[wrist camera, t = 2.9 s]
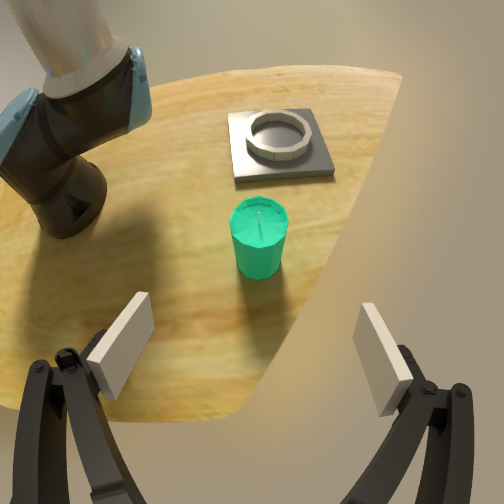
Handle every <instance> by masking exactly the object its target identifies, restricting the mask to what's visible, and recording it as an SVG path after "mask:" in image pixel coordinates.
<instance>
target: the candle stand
mask: <svg viewBox="0 0 504 504" xmlns="http://www.w3.org/2000/svg"><path fill="white" fill-rule="evenodd" d="M228 121H229V131H230V140H231V150H232V160H233V169H234V178H235V183H240V182H249V181H259V180H270V179H281V178H294V177H309V176H326V175H333V174H334V171H335V168H334V165H333V163H332V160H331V157H330V155H329V152H328V149H327V147H326V144H325V142H324V139H323V137H322V134H321V132H320V130H319V127H318V125H317V122H316V120H315V118H314V115H313V113H312V111H311V109H275V110H261V111H248V112H237V113H228Z"/></svg>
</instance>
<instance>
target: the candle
mask: <svg viewBox="0 0 504 504" xmlns="http://www.w3.org/2000/svg"><path fill="white" fill-rule="evenodd" d="M288 222H289V221H288V218H287V214H286V211H285V208H284V207H283V206H282V205H280V204H279V203H278V202H276V201H275V200H274V199H270V198H266V197H262V196H256V197H251V198H247V199H244V200H243V201H242V202H241V203H240V204H239V205H238V206H237V207H236V208H235V209H234V211H233V213H232V215H231V218H230V220H229V223H230V228H231V234H232V239H233V245H234V250H235V255H236V260H237V264H238V268H239V270H240V271H241V272H242V273H243V274H244V275H245V276H246V277H248V278H251V279H255V280H262V279H266V278H270V277H271V276H272V275H273V274H274V273H275V272H276V271H277V270H278V268H279V264H280V260H281V256H282V251H283V246H284V242H285V237H286V232H287V227H288Z"/></svg>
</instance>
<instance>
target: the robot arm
mask: <svg viewBox="0 0 504 504" xmlns="http://www.w3.org/2000/svg"><path fill="white" fill-rule="evenodd" d="M6 2H7V4H8V6H9V8H10V10H11V12H12V14H13V16H14V18H15V20H16V22H17V23H18V25H19V27H20V29H21V31H22V33H23V34H24V36H25V38H26V40H27V42H28V43H29V45H30V47H31V49H32V50H33V52H34V54H35V55H36V57H37V59H38V60H39V62H40V64H41V65H42V67H43V68H44V70H45V72H46V74H47V75H46V78H45V81H44V84H43V93H41V94H39V91H38V89H35V88H34V87H30V88H29V89H26V90H24V91H23V92H21V93H20V94H19V95H18V96H17V97H16V98H15V99H14V100H12V102H11V103H10V104H9V105H8V106H7V107H6V108H5V109H4V110H3V111H2V113H1V114H0V176H1V177H2V178H3V179H4V180H5V181H6V182H7V183H8V184H9V185H10V186H11V187H12V188H13V189H14V190H15V191H16V192H17V193H18V194H19V195H20V196H21V197H22V198H23V199H25V200H26V201H27V202H28V203H29V204H30V206H31V208H32V210H33V211H34V213H35V215H36V217H37V218H38V222H39V224H40V226H41V227H42V229H43V230H44V231H45V232H47V233H48V234H49V235H50V236H52V237H54V238H57V239H65V238H69V237H71V236H74V235H76V234H77V233H79V232H80V231H82V230H83V229H84V228H85V227H87V226H88V225H89V224H90V223H91V221H92V220H93V219H94V218H95V217H96V215H97V214H98V212H99V210H100V209H101V207H102V205H103V202H104V200H105V196H106V191H107V183H106V179H105V177H104V175H103V174H102V173H101V171H100V170H99V168H98V167H97V166H96V165H94V164H92V163H90V162H88V161H87V160H85V159H84V158H83V157H81V156H80V154H82V153H84V152H86V151H88V150H90V149H93V148H95V147H97V146H99V145H101V144H103V143H106V142H108V141H110V140H112V139H115V138H117V137H120V136H122V135H124V134H125V135H126V134H128V133H129V132H130V131H132V130H134V129H136V128H138V127H140V126H142V125H145V124H146V123H147V122H148V121H149V120H150V118H151V116H152V104H151V97H150V90H149V85H148V80H147V74H146V67H145V61H144V56H143V52H142V49H141V48H140V47H131V48H129V47H128V44H127V41H126V40H125V39H124V38H122V37H119V36H115V35H111V34H110V31H109V29H108V26H107V23H106V20H105V17H104V14H103V11H102V8H101V5H100V2H99V0H6ZM154 329H155V324H154V319H153V313H152V308H151V302H150V296H149V293H148V292H137V294H136V295H135V296H134V297H133V299H132V300H131V301H130V302H129V304H128V305H127V306H126V307H125V309H124V310H123V311H122V312H121V314H120V315H119V316H118V318H117V319H116V320H115V322H114V323H113V324H112V325H111V327H110V328H109V329H108V330H104V329H103V330H101V331H100V332H98V333H97V334H96V335H95V336H94V337H93V338H92V341H90V342H89V344H88V345H87V346H86V347H85V349H84V350H83V351H82V353H81V354H80V355H78V353H77V351H76V350H75V349H73V348H64V349H62V350H60V351H59V352H57V354H56V355H55V361H56V363H57V365H58V367H50V365H49V363H48V361H46V360H37V361H35V362H34V363H33V364H32V365H31V366H30V369H29V372H28V376H27V380H26V384H25V389H24V393H23V398H22V402H21V407H20V413H19V419H18V425H17V432H16V440H15V449H14V461H13V495H12V498H11V502H10V504H70V501H69V492H68V481H67V465H66V464H67V463H66V422H67V410H68V415H69V419H70V423H71V427H72V431H73V434H74V438H75V442H76V445H77V449H78V452H79V455H80V458H81V461H82V464H83V467H84V470H85V473H86V476H87V478H88V481H89V483H90V486H91V489H92V492H91V494H90V496H91V499H92V502H93V504H147V503H146V502H145V500H144V498H143V497H142V495H141V493H140V491H139V489H138V488H137V486H136V484H135V482H134V480H133V478H132V476H131V474H130V472H129V470H128V468H127V466H126V464H125V462H124V460H123V458H122V456H121V453H120V451H119V449H118V447H117V444H116V443H115V440H114V437H113V435H112V432H111V430H110V427H109V425H108V422H107V419H106V417H105V414H104V411H103V408H102V405H101V402H100V399H99V397H98V393H99V391H100V390H101V392H102V394H103V396H104V397H105V398H109V399H112V400H117V398H118V396H119V394H120V392H121V390H122V388H123V386H124V384H125V382H126V381H127V379H128V377H129V375H130V373H131V371H132V369H133V367H134V366H135V364H136V362H137V360H138V358H139V356H140V354H141V353H142V351H143V349H144V347H145V345H146V344H147V342H148V340H149V338H150V336H151V335H152V333H153V331H154ZM353 341H354V343H355V346H356V349H357V352H358V355H359V357H360V360H361V363H362V366H363V369H364V371H365V374H366V377H367V380H368V383H369V386H370V389H371V392H372V395H373V398H374V401H375V404H376V407H377V410H378V414H379V417H383V416H389V415H393V414H394V412H395V410H396V409H398V411H399V415H398V416H397V418H396V419H395V421H394V422H393V424H392V427H391V429H390V431H389V433H388V434H387V436H386V438H385V440H384V441H383V443H382V445H381V446H380V448H379V449H378V451H377V453H376V454H375V456H374V457H373V459H372V460H371V462H370V463H369V465H368V466H367V468H366V469H365V471H364V472H363V474H362V475H361V477H360V478H359V479H358V481H357V482H356V483H355V485H354V486H353V488H352V489H351V490H350V492H349V493H348V494H347V495H346V497H345V498H344V499H343V500H342V502H341V503H340V504H387V503H388V502H389V500H390V499H391V497H392V496H393V494H394V492H395V490H396V489H397V487H398V485H399V484H400V482H401V480H402V478H403V476H404V474H405V473H406V471H407V469H408V467H409V465H410V463H411V461H412V459H413V457H414V455H415V452H416V450H417V448H418V446H419V444H420V442H421V439H422V437H423V434H424V432H425V430H426V427H427V426H429V431H428V440H427V447H426V454H425V460H424V465H423V471H422V476H421V480H420V485H419V489H418V493H417V497H416V501H415V504H469V503H470V496H471V488H472V478H473V465H474V413H473V399H472V392H471V390H470V388H469V387H468V386H467V385H465V384H462V383H457V384H455V385H454V386H453V387H452V388H451V390H443V389H438V387H437V386H436V385H435V384H434V383H433V382H431V381H427V380H426V379H425V377H424V375H423V373H422V372H421V370H420V368H419V366H418V364H417V363H416V361H415V359H414V358H413V355H412V353H411V352H410V350H409V349H408V348H407V347H405V346H404V345H396V343H395V342H394V340H393V338H392V336H391V334H390V332H389V331H388V329H387V327H386V325H385V323H384V322H383V320H382V318H381V316H380V314H379V313H378V311H377V309H376V308H375V306H374V304H373V303H362V304H361V307H360V311H359V316H358V320H357V323H356V327H355V331H354V334H353Z"/></svg>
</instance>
